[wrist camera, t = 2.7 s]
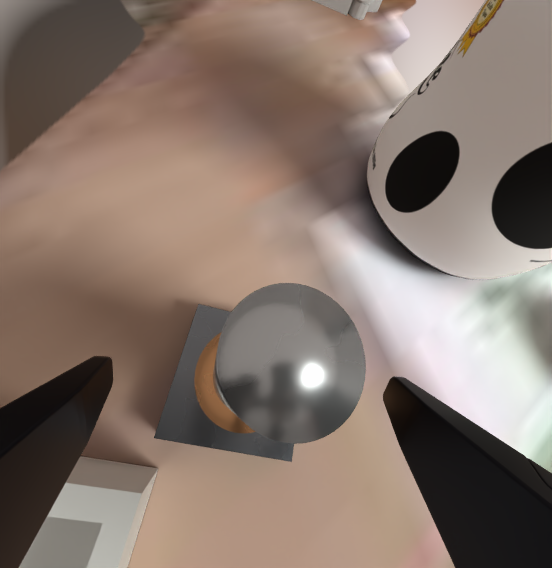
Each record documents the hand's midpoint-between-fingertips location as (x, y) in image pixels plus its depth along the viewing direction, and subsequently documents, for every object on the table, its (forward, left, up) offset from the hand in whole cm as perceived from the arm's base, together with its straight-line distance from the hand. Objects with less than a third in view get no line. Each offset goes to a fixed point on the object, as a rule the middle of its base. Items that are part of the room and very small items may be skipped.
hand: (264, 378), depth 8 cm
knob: (0, 0, -7) cm, 7 cm away
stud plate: (0, 0, -8) cm, 8 cm away
